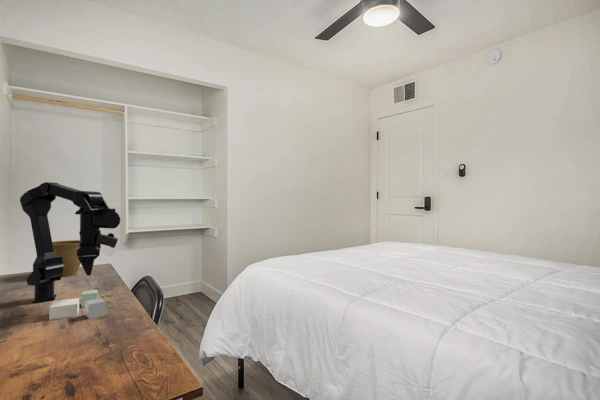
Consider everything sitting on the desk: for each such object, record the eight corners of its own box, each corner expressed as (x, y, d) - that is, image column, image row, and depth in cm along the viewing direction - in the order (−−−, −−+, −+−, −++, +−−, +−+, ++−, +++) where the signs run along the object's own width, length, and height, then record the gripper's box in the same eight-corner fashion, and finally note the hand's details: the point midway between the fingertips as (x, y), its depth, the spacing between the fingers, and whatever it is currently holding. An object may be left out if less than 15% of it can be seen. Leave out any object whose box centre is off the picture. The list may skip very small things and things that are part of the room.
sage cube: (82, 304, 113) (82, 291, 113) (97, 302, 115) (97, 289, 115) (81, 307, 109) (81, 294, 109) (97, 305, 111) (97, 292, 111)
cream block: (52, 313, 104) (52, 301, 104) (79, 310, 107) (79, 298, 107) (49, 320, 98) (49, 307, 98) (77, 316, 101) (77, 303, 101)
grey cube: (85, 315, 102) (85, 301, 102) (101, 312, 105) (101, 298, 105) (88, 319, 99) (88, 304, 99) (105, 315, 102) (105, 301, 102)
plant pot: (45, 280, 145) (45, 244, 145) (49, 273, 158) (50, 241, 158) (85, 276, 153) (85, 242, 153) (86, 270, 165) (86, 239, 165)
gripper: (117, 229, 108) (116, 275, 108) (116, 224, 124) (115, 265, 124) (76, 230, 102) (76, 279, 102) (81, 226, 118) (81, 268, 118)
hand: (89, 272), depth 112 cm, fingers open, 9 cm apart
